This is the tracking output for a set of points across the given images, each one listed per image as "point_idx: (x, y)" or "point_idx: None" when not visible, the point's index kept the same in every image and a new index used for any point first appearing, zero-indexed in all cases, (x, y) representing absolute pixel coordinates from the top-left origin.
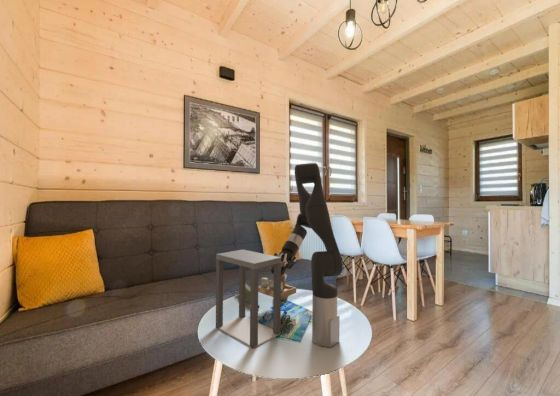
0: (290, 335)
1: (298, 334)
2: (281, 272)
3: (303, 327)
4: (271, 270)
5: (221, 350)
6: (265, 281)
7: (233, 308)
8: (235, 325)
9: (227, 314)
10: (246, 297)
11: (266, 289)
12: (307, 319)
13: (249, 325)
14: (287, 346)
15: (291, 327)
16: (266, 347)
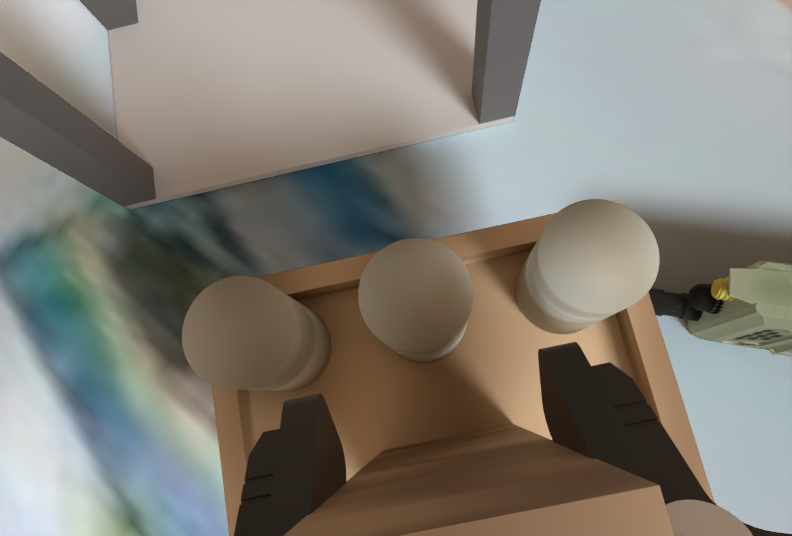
0: (78, 255)
1: (51, 307)
2: (262, 449)
3: (93, 404)
4: (566, 352)
5: None
6: (535, 251)
7: (709, 127)
8: (391, 16)
9: (615, 47)
10: None
11: (441, 240)
12: (162, 530)
13: (335, 90)
14: (6, 167)
15: (150, 330)
16: (77, 70)
